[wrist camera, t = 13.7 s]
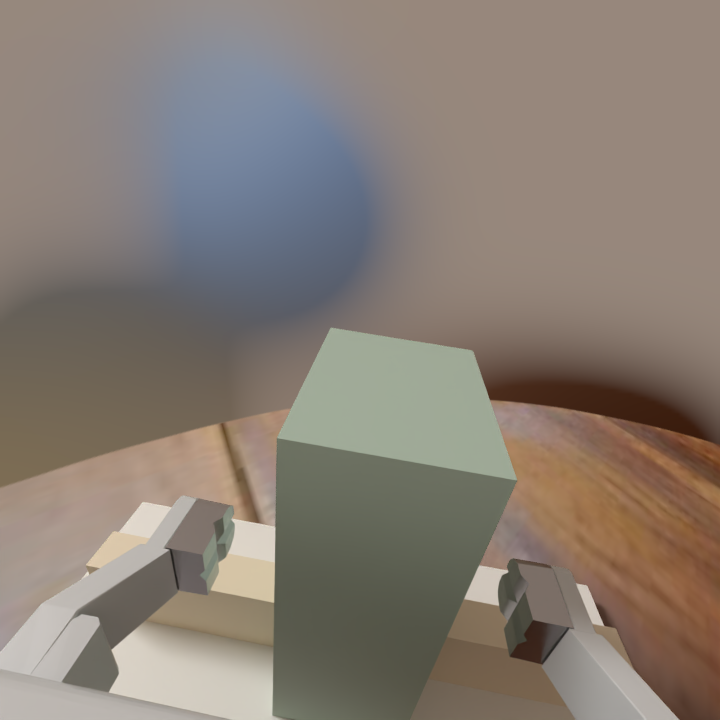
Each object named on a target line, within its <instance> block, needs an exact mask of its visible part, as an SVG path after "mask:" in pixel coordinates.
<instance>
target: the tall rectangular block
mask: <svg viewBox="0 0 720 720" xmlns="http://www.w3.org/2000/svg"><path fill="white" fill-rule="evenodd" d="M516 482H517V478H516V476H515V473H514V470H513V467H512V464H511V461H510V458H509V455H508V452H507V449H506V446H505V443H504V440H503V438H502V435H501V432H500V429H499V426H498V423H497V420H496V417H495V414H494V411H493V408H492V405H491V403H490V400H489V397H488V394H487V391H486V388H485V385H484V382H483V379H482V376H481V373H480V370H479V368H478V365H477V362H476V359H475V356H474V353H473V351H472V350H466V349H460V348H453V347H446V346H441V345H435V344H428V343H422V342H416V341H410V340H403V339H397V338H391V337H384V336H379V335H372V334H366V333H359V332H353V331H347V330H341V329H335V328H331V329H330V331H329V333H328V335H327V337H326V339H325V341H324V343H323V345H322V347H321V349H320V351H319V353H318V355H317V357H316V359H315V361H314V364H313V365H312V367H311V370H310V372H309V374H308V376H307V378H306V380H305V382H304V384H303V386H302V388H301V390H300V392H299V394H298V396H297V398H296V401H295V402H294V404H293V406H292V408H291V410H290V412H289V414H288V416H287V419H286V421H285V423H284V425H283V427H282V429H281V431H280V433H279V435H278V437H277V463H276V524H275V584H274V644H273V704H272V716H277V717H282V718H287V719H291V720H410V718H411V716H412V714H413V711H414V709H415V707H416V705H417V702H418V700H419V698H420V696H421V694H422V691H423V689H424V687H425V685H426V682H427V680H428V678H429V676H430V674H431V671H432V669H433V667H434V665H435V662H436V660H437V658H438V656H439V653H440V651H441V649H442V647H443V645H444V642H445V640H446V638H447V636H448V633H449V631H450V629H451V627H452V625H453V622H454V620H455V618H456V616H457V613H458V611H459V609H460V607H461V604H462V602H463V600H464V598H465V596H466V593H467V591H468V589H469V587H470V584H471V582H472V580H473V578H474V576H475V573H476V571H477V569H478V567H479V564H480V562H481V560H482V558H483V555H484V553H485V551H486V549H487V547H488V544H489V542H490V540H491V538H492V535H493V533H494V531H495V529H496V527H497V524H498V522H499V520H500V518H501V515H502V513H503V511H504V509H505V506H506V504H507V502H508V500H509V498H510V495H511V493H512V491H513V489H514V486H515V484H516Z"/></svg>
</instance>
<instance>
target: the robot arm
mask: <svg viewBox="0 0 720 720" xmlns="http://www.w3.org/2000/svg"><path fill="white" fill-rule="evenodd" d="M233 515H234V509H233V506H231V505H227V504H222V503H217V502H212V501H208V500H203V499H199V498H194V497H188V496H181V497H180V498H179V499H178V500H177V501H176V502H175V504H174V505H173V506H172V508H171V509H170V511H169V512H168V513H167V515H166V516H165V518H164V519H163V521H162V522H161V523H160V525H159V526H158V528H157V529H156V530H155V532H154V533H153V535H152V536H151V537H150V539H149V540H148V542H147V543H146V545H145V544H139V545H138V546H136V547H134V548H133V549H131V550H129V551H128V552H126V553H124V554H123V555H121V556H119V557H118V558H116V559H114V560H113V561H111V562H109V563H108V564H106V565H105V566H103V567H101V568H100V569H98V570H96V571H95V572H93V573H91V574H90V575H88V576H86V577H85V578H83V579H81V580H80V581H78V582H76V583H75V584H73V585H71V586H70V587H68V588H67V589H65V590H63V591H62V592H60V593H58V594H57V595H55V596H53V597H52V598H50V599H48V600H47V601H45V602H43V603H42V604H41V605H40V606H39V607H38V609H37V610H36V611H35V612H34V613H33V614H32V616H31V617H30V618H29V619H28V620H27V621H26V623H25V624H24V625H23V626H22V627H21V629H20V630H19V631H18V632H17V633H16V634H15V636H14V637H13V638H12V639H11V640H10V641H9V643H8V644H7V645H6V646H5V647H4V648H3V650H2V651H1V652H0V720H232V719H227V718H222V717H218V716H213V715H209V714H204V713H200V712H195V711H191V710H186V709H181V708H177V707H172V706H168V705H163V704H159V703H154V702H150V701H145V700H140V699H136V698H131V697H127V696H122V695H118V694H113V693H109V691H110V689H111V687H112V685H113V684H114V682H115V680H116V678H117V677H118V675H119V668H118V665H117V662H116V660H115V657H114V655H113V653H112V649H113V648H114V647H115V646H116V645H118V644H119V643H120V642H121V641H122V640H123V639H125V638H126V637H127V636H128V635H129V634H130V633H132V632H133V631H134V630H135V629H136V628H137V627H139V626H140V625H141V624H142V623H143V622H144V621H145V620H147V619H148V618H149V617H150V616H151V615H152V614H154V613H155V612H156V611H157V610H158V609H159V608H161V607H162V606H163V605H164V604H165V603H166V602H168V601H169V600H170V599H171V598H172V597H173V596H174V595H176V594H177V593H178V591H184V592H190V593H196V594H202V595H207V596H208V594H209V592H210V590H211V588H212V586H213V584H214V582H215V580H216V578H217V576H218V573H219V565H218V563H219V562H220V561H222V560H223V559H224V558H226V557H227V554H228V552H229V550H230V548H231V545H232V541H233V538H234V532H235V524H234V522H233V521H232V520H231V519H232V517H233ZM507 568H508V573H506V574H504V575H502V577H501V579H500V581H499V586H498V602H499V608H500V612H501V613H502V614H503V616H504V617H505V618H506V620H507V623H506V625H505V627H504V633H505V637H506V642H507V647H508V652H509V657H512V658H516V659H521V660H525V661H529V662H534V663H538V664H542V668H543V669H544V671H545V672H546V674H547V676H548V677H549V679H550V680H551V682H552V683H553V685H554V687H555V688H556V690H557V691H558V693H559V694H560V696H561V697H562V699H563V701H564V702H565V704H566V705H567V707H568V708H569V710H570V712H571V713H572V715H573V716H574V718H575V719H576V720H679V719H678V718H677V717H676V716H675V715H674V714H673V712H672V711H671V710H670V709H669V708H668V707H667V706H666V705H665V704H664V703H663V701H662V700H661V699H660V698H659V697H658V696H657V695H656V694H655V693H654V692H653V690H652V689H651V688H650V687H649V686H648V685H647V684H646V683H645V682H644V681H643V679H642V678H641V677H640V676H639V675H638V674H637V673H636V672H635V671H634V670H633V668H632V667H631V666H630V665H629V664H628V663H627V662H626V661H625V660H624V659H623V658H622V656H621V655H620V654H619V653H618V652H617V651H616V650H615V649H614V648H613V647H612V645H611V644H610V643H609V642H608V641H607V640H606V639H605V638H604V637H603V636H602V635H600V634H596V632H595V629H594V627H593V624H592V622H591V619H590V617H589V615H588V612H587V610H586V607H585V605H584V602H583V600H582V597H581V595H580V592H579V590H578V587H577V585H576V582H575V580H574V578H573V575H572V573H571V572H570V571H569V569H567V568H562V567H556V566H550V565H547V564H543V563H537V562H531V561H525V560H520V559H514V558H513V559H511V560H510V561H509V563H508V565H507Z"/></svg>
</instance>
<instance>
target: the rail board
mask: <svg viewBox="0 0 720 720" xmlns="http://www.w3.org/2000/svg"><path fill="white" fill-rule="evenodd" d="M171 508H172V507H167V506H162V505H156V504H151V503H146V502H143V503H142V504H141V505H140V506H139V508H138V509H137V510H136V511H135V513H134V514H133V515H132V516H131V518H130V519H129V520H128V521H127V523H126V524H125V525H124V527H123V528H122V529H121V530H120V532H115V531H113V533H112V534H111V535H110V536H109V537H108V539H107V540H106V541H105V542H104V544H103V545H102V546H101V547H100V549H99V550H98V551H97V552H96V553H95V555H94V556H93V557H92V558H91V560H90V561H89V562H88V563H87V564H86V567H87V570H88V572H87V573H86V574H85V576H84V577H83V578H85V577H86V576H88V575H90V574H91V573H93V572H95V571H96V570H98V569H100V568H101V567H103V566H105V565H106V564H108V563H109V562H111V561H113V560H114V559H116V558H118V557H119V556H121V555H123V554H124V553H126V552H128V551H129V550H131V549H133V548H134V547H136V546H138V545H139V544H145V545H146V543H147V542H148V540H149V539H150V537H151V536H152V535H153V533H154V532H155V530H156V529H157V528H158V526H159V525H160V523H161V522H162V521H163V519H164V518H165V516H166V515H167V513H168V512H169V511H170V509H171ZM231 520H232V521H233V522H234V524H235V532H234V538H233V541H232V545H231V548H230V550H229V552H228V554H227V557H226V558H224V559H223V560H222V561H220V562H219V563H218V565H219V573H218V576H217V578H216V580H215V582H214V584H213V586H212V588H211V590H210V592H209V594H208V596H207V595H202V594H196V593H190V592H184V591H178V593H177V594H176V595H174V596H173V597H172V598H171V599H170V600H169V601H168V602H166V603H165V604H164V605H163V606H162V607H161V608H159V609H158V610H157V611H156V612H155V613H154V614H152V615H151V616H150V617H149V618H148V619H147V620H145V621H144V622H143V623H142V624H141V625H140V626H139V627H137V628H136V629H135V630H134V631H133V632H132V633H130V634H129V635H128V636H127V637H126V638H125V639H123V640H122V641H121V642H120V643H119V644H118V645H116V646H115V647H114V648H113V649H112V653H113V655H114V657H115V660H116V662H117V665H118V668H119V675H118V677H117V678H116V680H115V682H114V684H113V685H112V687H111V689H110V691H109V693H113V694H118V695H122V696H127V697H131V698H136V699H140V700H145V701H150V702H154V703H159V704H163V705H168V706H172V707H177V708H181V709H186V710H191V711H195V712H200V713H204V714H209V715H213V716H218V717H222V718H227V719H232V720H291V719H287V718H282V717H277V716H272V704H273V644H274V584H275V527H273V526H268V525H263V524H257V523H252V522H247V521H241V520H236V519H231ZM506 573H508V571H506V570H501V569H496V568H491V567H485V566H480V565H479V567H478V569H477V571H476V573H475V576H474V578H473V580H472V582H471V584H470V587H469V589H468V591H467V593H466V596H465V598H464V600H463V602H462V604H461V607H460V609H459V611H458V613H457V616H456V618H455V620H454V622H453V625H452V627H451V629H450V631H449V633H448V636H447V638H446V640H445V642H444V645H443V647H442V649H441V651H440V653H439V656H438V658H437V660H436V662H435V665H434V667H433V669H432V671H431V674H430V676H429V678H428V680H427V682H426V685H425V687H424V689H423V691H422V694H421V696H420V698H419V700H418V702H417V705H416V707H415V709H414V711H413V714H412V716H411V718H410V720H576V719H575V718H574V716H573V715H572V713H571V712H570V710H569V708H568V707H567V705H566V704H565V702H564V701H563V699H562V697H561V696H560V694H559V693H558V691H557V690H556V688H555V687H554V685H553V683H552V682H551V680H550V679H549V677H548V676H547V674H546V672H545V671H544V669H543V668H542V664H538V663H534V662H529V661H525V660H521V659H516V658H512V657H509V652H508V647H507V642H506V637H505V633H504V627H505V625H506V623H507V620H506V618H505V617H504V616H503V614H502V613H501V612H500V608H499V602H498V586H499V581H500V579H501V577H502V575H504V574H506ZM83 578H82V579H83ZM576 585H577V587H578V590H579V592H580V595H581V597H582V600H583V602H584V605H585V607H586V610H587V612H588V615H589V617H590V619H591V622H592V624H593V627H594V629H595V632H596V634H600V635H602V636H603V637H604V638H605V639H606V640H607V641H608V642H609V643H610V644H611V645H612V647H613V648H614V649H615V650H616V651H617V652H618V653H619V654H620V655H621V656H622V658H623V659H624V660H625V661H626V662H627V663H628V664H629V665H630V666H631V667H632V668H633V666H632V664H631V662H630V660H629V657H628V655H627V653H626V651H625V648H624V646H623V644H622V642H621V639H620V637H619V635H618V633H617V630H616V628H611V627H606V626H604V624H603V622H602V620H601V617H600V615H599V613H598V610H597V608H596V605H595V603H594V601H593V598H592V596H591V594H590V591H589V589H588V587H587V586H586V585H581V584H576ZM633 670H634V669H633Z"/></svg>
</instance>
